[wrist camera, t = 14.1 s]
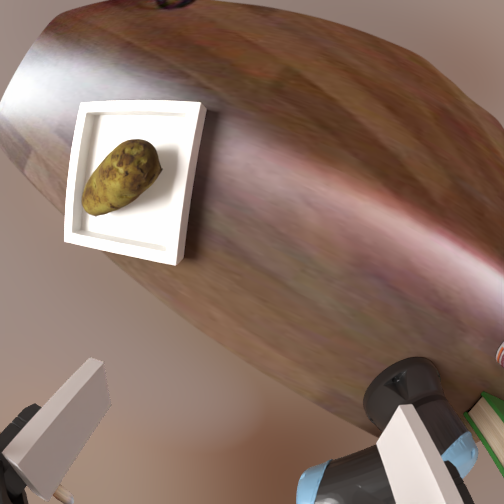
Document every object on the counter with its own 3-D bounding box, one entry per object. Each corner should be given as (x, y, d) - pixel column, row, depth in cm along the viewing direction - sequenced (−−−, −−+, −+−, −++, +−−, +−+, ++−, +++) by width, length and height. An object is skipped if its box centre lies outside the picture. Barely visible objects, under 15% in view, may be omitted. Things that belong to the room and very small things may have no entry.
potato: (89, 159, 34) (55, 157, 26) (170, 138, 33) (145, 127, 25) (96, 216, 36) (62, 225, 28) (178, 201, 35) (154, 207, 27)
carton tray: (183, 258, 38) (175, 265, 34) (77, 236, 38) (64, 241, 34) (206, 109, 33) (200, 102, 29) (93, 107, 33) (80, 102, 30)
